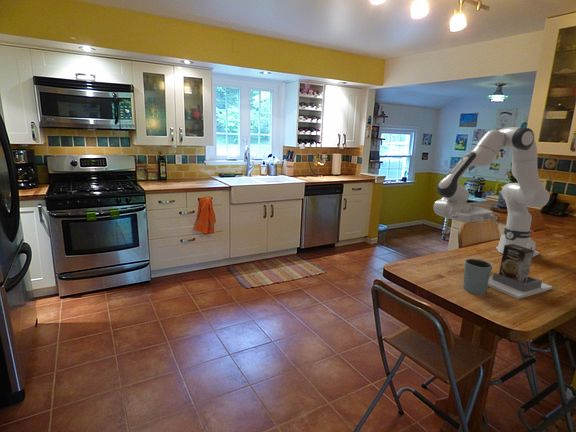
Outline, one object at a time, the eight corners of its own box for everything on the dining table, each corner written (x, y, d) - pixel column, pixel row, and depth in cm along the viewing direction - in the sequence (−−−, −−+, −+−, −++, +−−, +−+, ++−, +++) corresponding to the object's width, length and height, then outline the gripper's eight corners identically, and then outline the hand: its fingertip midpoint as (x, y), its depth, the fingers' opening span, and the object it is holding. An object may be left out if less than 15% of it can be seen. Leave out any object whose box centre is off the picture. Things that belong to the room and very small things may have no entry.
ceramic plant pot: (476, 296, 138) (481, 268, 135) (455, 286, 147) (459, 259, 144) (493, 292, 142) (498, 265, 139) (471, 283, 151) (476, 257, 148)
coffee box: (496, 279, 153) (503, 244, 149) (506, 277, 155) (512, 243, 152) (517, 287, 145) (525, 251, 141) (527, 285, 148) (534, 249, 144)
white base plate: (509, 273, 163) (511, 265, 162) (551, 289, 148) (553, 280, 147) (476, 281, 153) (478, 272, 152) (518, 299, 137) (520, 289, 136)
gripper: (449, 208, 165) (476, 214, 153) (477, 205, 173) (504, 210, 161) (447, 221, 166) (474, 228, 154) (475, 217, 175) (502, 223, 163)
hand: (489, 219), depth 158 cm, fingers open, 8 cm apart
